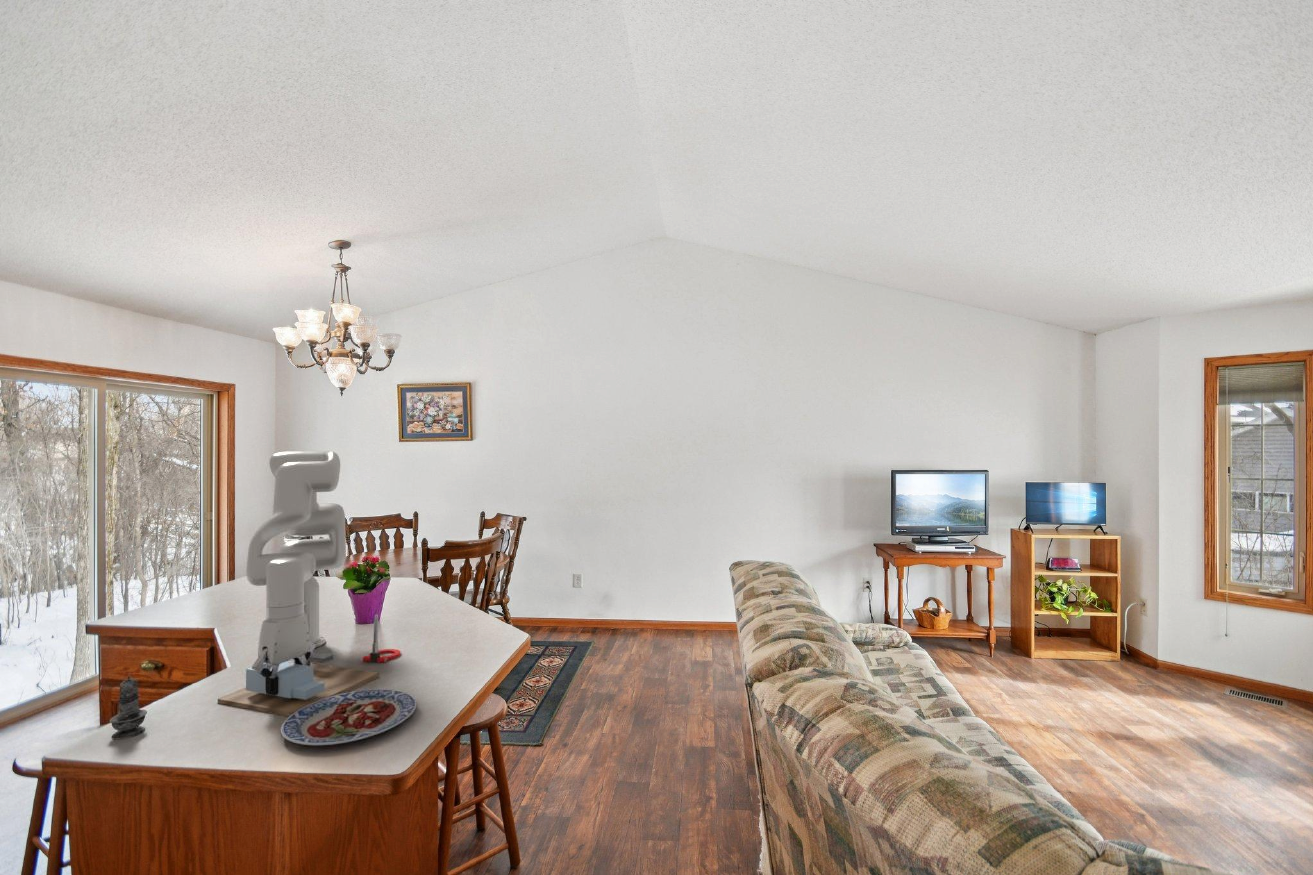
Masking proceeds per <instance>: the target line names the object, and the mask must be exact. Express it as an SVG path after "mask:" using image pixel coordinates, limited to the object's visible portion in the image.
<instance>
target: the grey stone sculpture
mask: <svg viewBox="0 0 1313 875" xmlns="http://www.w3.org/2000/svg"><path fill="white" fill-rule="evenodd" d="M138 684H139V683H138V680H137V679H135V678H131V675H130V674H129V675H127V677H126V680H123V681H121V683H119V697H118V698H117V700H116V701H117V702H118V712H117V714H116V715H114V716H112V717H111V718H110V719H109V723H111V726H112V728H113V729H114V730H116V732H114V733H113V734H112V735H111V739H112V740H125V739H128V738H129V739H130V738H133V737H136V736H138V735H140V734H143V733H144V732H145V731H146V727H145V726H141V725H142V724H143V722H144V721H145V718H146V715H147V714H148V710H147V709H140V706H139V698H140V696H141V694H139V689H138V688H139V685H138Z"/></svg>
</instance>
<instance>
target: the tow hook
mask: <svg viewBox="0 0 1313 875" xmlns="http://www.w3.org/2000/svg"><path fill="white" fill-rule="evenodd" d="M379 623H380V622H379V614H375V615H374V622H373V636H372V638H373V641H372V647H371V648H372V650H371V652H369V653H368V655H367V656H366V655H364V656H363V658H362V661H363V662H368V663H369V662H370V663H387V661H388V660H393V659H396V658H398V657H400V656H401V650H399V649H394V648H386V649H380V650H379V645H380V644H379V643H380V642H379V626H380V625H379ZM382 654H383V656H381V655H382ZM384 654H390V655H384Z"/></svg>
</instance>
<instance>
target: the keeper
mask: <svg viewBox="0 0 1313 875" xmlns="http://www.w3.org/2000/svg"><path fill="white" fill-rule="evenodd" d="M333 660H334V654H330V653H324V652H323V653H322V652H316V651H312V653H311V655H310V657H309V658H308V660H307V664H306V666H310V663H316V664H326V663H328V662H330V661H333Z"/></svg>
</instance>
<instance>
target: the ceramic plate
mask: <svg viewBox="0 0 1313 875" xmlns="http://www.w3.org/2000/svg"><path fill="white" fill-rule="evenodd" d="M416 708H417V700H416V698H415V697H414V696H413V695H411V694H409V693H408V692H405V691H402V690H398V689H389V688H375V689H373V688H372V689H362V690H354V691H349V692H346V693H344V694H339V695H335V696H332V697H328V698H325V699H322V700H319V701H317V702H314V703H312V704H309V705H307V706H305V707H303V708H301V709H300V710H298V711H296V712H295V713H293V714H292V715H291V716H287V718H286V719H285V720H284V721H283V723H282V724H281V727H280V733H281V735H282V737H283V738H284V739H285V740H287V741H288V742H291V743H294V744H298V745H303V746H304V745H305V746H331V745H338V744H345V743H350V742H354V741H359V740H363V739H367V738H370V737H373V736H375V735H378V734H382V733H384V732H386V731H389V730H390V729H393V728H394V727H396V726H398V725H400V724H401V723H403V722H404V721H405V720H406V719H408V718H410V716H412V714H414V712H415V710H416Z"/></svg>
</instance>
